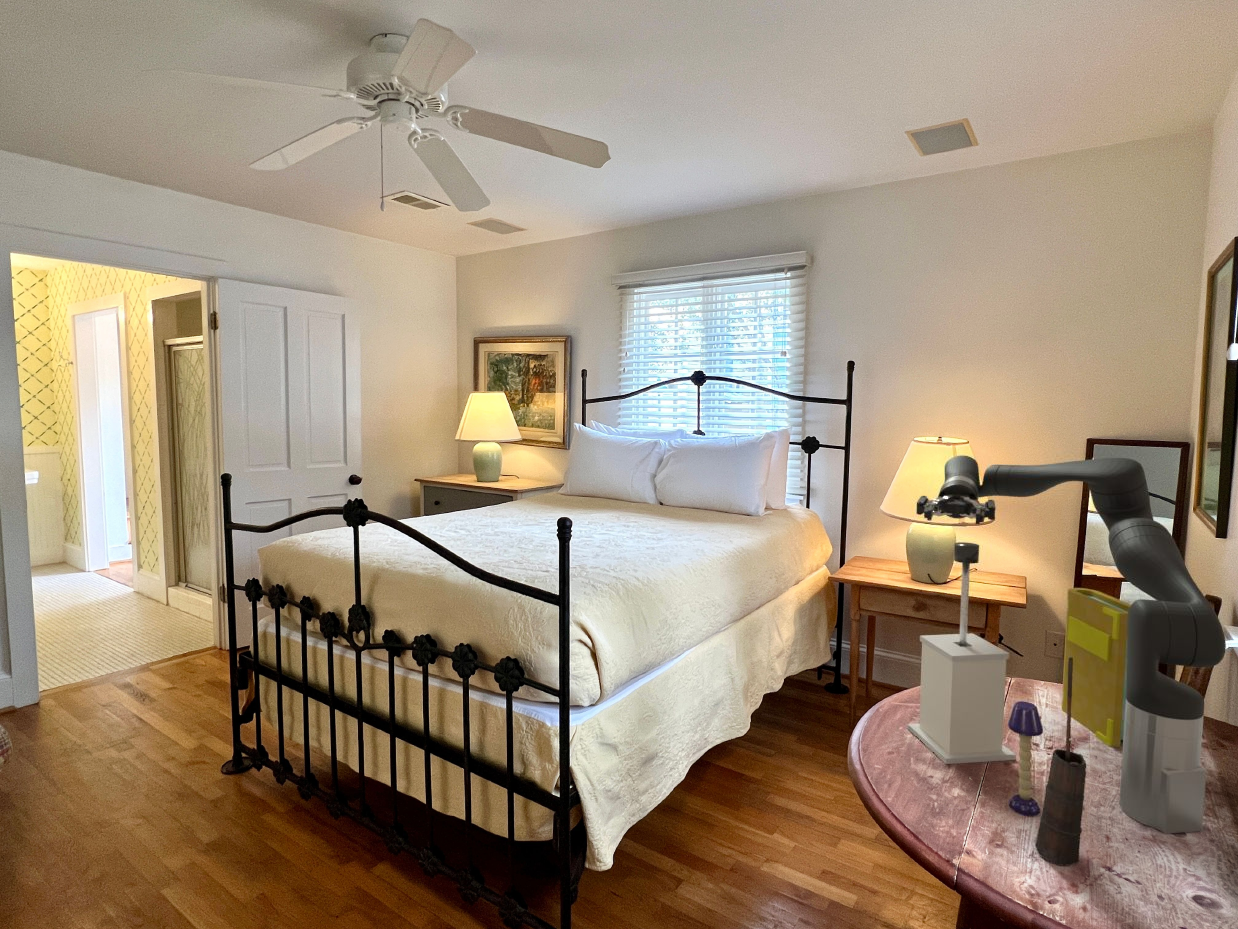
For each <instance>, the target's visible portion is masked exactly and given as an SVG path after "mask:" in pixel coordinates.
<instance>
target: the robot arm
mask: <svg viewBox="0 0 1238 929" xmlns="http://www.w3.org/2000/svg"><path fill="white" fill-rule="evenodd" d="M979 472H980V470H979V463H978V461H977V460H976V459H975V458H973V457H971V456H969V455H964V454H963V455H956V456H954V457H951V458H949V459H948V460H947V461H946V462H945V464H944V482H943V484H942V485H941V487H940V489H939V493H938V496H937V497H936V498H934V499H929V497H928V496H927V495H921V496H920V497H918V498H919V499H917V501H916V515H918V516H919V515H920V516H921V515H923V518H924V519H926V521H933V520H932V519H933V516H936V517H942V516H946V517H949V518H951V519H957V520H958V519H965V518H969V519H972V520H973V519H975V525H981V524H980V523H984V522H985V518H986V519H988V520H990V521H994V520H996V503H995V500H993V499H988V500H987V501H985V502H984V503H981V502H980V501H979V498H985V497H994V496H995V497H1012V498H1013V497H1014V498H1016V497H1017V498H1026V497H1033V496H1036V495H1037V496H1038V495H1039V494H1042V493H1044V492H1046V491H1048V490H1050V489H1051V488H1054V487H1056V486H1059V485H1061V484H1064V483H1068V482H1069V483H1070V482H1083V483H1087V484H1088V489H1089V492H1090V496H1091V501H1092V503H1093V507H1094V508H1095V510H1096V512H1097V513H1098V515H1099V517H1100V518H1101V520H1102V521H1103V523H1104V525H1105V526H1106V528H1107V530H1108V538H1107V539H1108V545H1109V550H1110V554H1111V557H1112V558H1113V562H1114V565H1115V568H1116V570H1117V571H1118V573H1119V574H1120V575H1121V576H1122V577H1123V579H1125V580H1126V581H1127V582H1129V583H1130V584H1131V585H1132V586H1134V587H1135V588H1136V589H1138V590H1140V591H1141V592H1143V593H1145V594H1146V595H1148V596H1150V597H1151V598H1153V599H1136V600H1134V601H1133V602H1132V604H1131V606H1130V609H1129V612H1128V618H1127V687H1126V706H1125V720H1124V736H1123V740H1122V757H1121V769H1120V770H1121V771H1120V790H1119V791H1120V792H1119V802H1118V803H1119V807H1120V808H1121V810H1122V811H1123V812H1124V813H1125V814H1126V815H1127V816H1129V817H1131V818H1132V819H1134V820H1135V821H1137V822H1139V823H1141V824H1144V825H1146V826H1149V827H1151V828H1154V829H1157V830H1158V831H1160V832H1162V833H1164V834H1176V833H1191V832H1192V833H1193V832H1202V831H1203V825H1204V824H1203V822H1204V812H1205V811H1204V810H1205V795H1206V781H1207V770H1206V769H1205V768H1204V767H1203V766H1201V756H1202V742H1203V740H1202V739H1203V729H1204V728H1203V726H1204V714H1205V700H1204V697H1203V695H1202V693H1200V692H1199V690H1196V689H1194V687H1192V686H1189V685H1188V684H1186V683H1183V682H1181V681H1178V680H1176V679H1174V678H1171V677H1169V676H1167V675H1165V674H1163V673H1162V672H1160V671H1159V670H1158V664H1163V665H1172V666H1181V667H1190V668H1192V667H1193V668H1211V667H1214V666H1217V665H1219V664H1220V663H1221V662H1222V660H1223V659H1224V657H1225V654H1226V650H1227V649H1226V648H1227V647H1226V645H1227V644H1226V637H1225V632H1224V628H1223V626H1222V624H1221V621H1220V618H1219V617H1218V615H1217V613H1216V612H1215V610H1214V608H1213V606H1212V605H1211V604H1210V602H1209V601H1208V599H1207V598H1206V597H1205V595H1204V594H1203V592H1202V591H1201V590H1200V588H1199V587H1198V585H1197V584H1196V582H1195V580H1194V578H1193V577H1192V576H1191V573H1190V571H1189V570H1188V568H1187V566H1186V564H1185V562H1184V559H1183V556H1182V554H1181V552H1180V549H1179V547H1178V545H1177V542H1176V541H1175V539H1174V537H1173V535H1172V534H1171V533H1170V532H1169V531H1170V530H1168V529H1167V528H1166V527H1165V526H1164V525H1163V524H1161V523H1160V522H1158V521H1156V520H1155V519H1154V517H1153V513H1152V507H1151V497H1150V494H1149V492H1150V491H1149V488H1148V484H1147V483H1148V482H1147V479H1146V474H1145V470H1144V467H1143V466H1142V464H1141V463H1140V462H1139V461H1137V460H1136V459H1132V458H1127V457H1126V458H1125V457H1106V458H1093V459H1092V458H1091V459H1085V460H1075V461H1074V460H1073V461H1066V462H1065V461H1064V462H1057V463H1056V462H1054V463H1048V464H1033V465H1031V464H1030V465H1028V464H1027V465H1024V464H1023V465H1020V464H992V465H989V466H988V467H987V468H986V470H985V472H984V473H983V477H982V483H981V481H980V480H981V479H980V473H979Z"/></svg>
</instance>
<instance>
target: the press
mask: <svg viewBox="0 0 1238 929" xmlns="http://www.w3.org/2000/svg"><path fill="white" fill-rule="evenodd" d="M959 638H960V633H952V634H951V633H950V634H929V635H928V634H925V635H919V641H920V642H921V660H920V661H921V662H920V663H921V667H920V669H921V670H920V694H919V696H920V697H919V720H918V721H919V723H907V730H908V729H909V730H910V731H911V732H912V733H913V734H912V733H911V732H910V731H909V730H908V731H909V732H910V733H911V734H912V735H913V736H915V737H916V736H917V737H918V738H919V739H918V738H917V737H916V738H917V739H918V740H919V741H920V740H921V741H922V742H923V743H924V744H925V745H924V744H923V743H922V742H921V741H920V742H921V743H922V744H923V745H924V746H926V748H928V750H930V752H932V753H933V752H934V753H935V754H936V755H937V756H936V755H935V754H934V753H933V754H934V755H935V756H936V757H937V758H939V759H940V760H941V761H942V763H944V764H945V765H953V764H966V763H967V764H968V763H970V764H971V763H985V762H986V763H988V762H1001V761H1002V762H1003V761H1015V760H1016V756H1017V754H1016V753H1015V752H1013V751H1012V750H1010V748H1008V747H1007V746H1005V745H1004V744H1003V743H1004V723H1005V722H1004V719H1005V697H1006V696H1005V694H1006V675H1007V660H1009V659H1010V653H1009V652H1007V651H1005V649H1002V648H1000V647H998V646H996V645H995V644H993V643H991V642H990V641H988V640H986V639H985V638H982V637H981V636H978V635H977V634H974V633H967V647H960V646H959Z"/></svg>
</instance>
